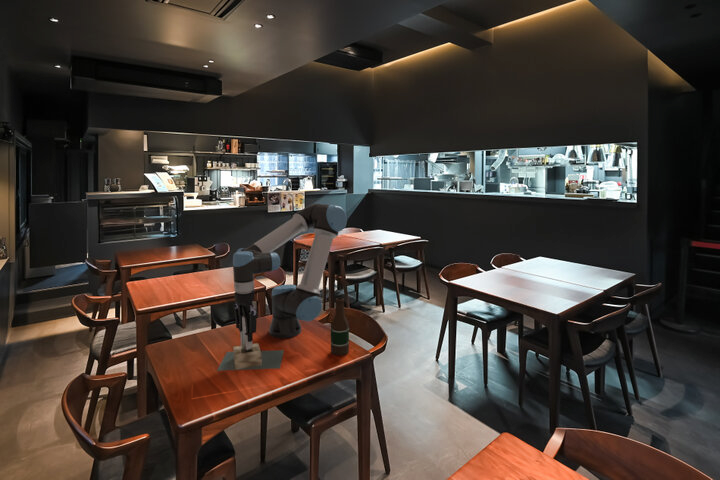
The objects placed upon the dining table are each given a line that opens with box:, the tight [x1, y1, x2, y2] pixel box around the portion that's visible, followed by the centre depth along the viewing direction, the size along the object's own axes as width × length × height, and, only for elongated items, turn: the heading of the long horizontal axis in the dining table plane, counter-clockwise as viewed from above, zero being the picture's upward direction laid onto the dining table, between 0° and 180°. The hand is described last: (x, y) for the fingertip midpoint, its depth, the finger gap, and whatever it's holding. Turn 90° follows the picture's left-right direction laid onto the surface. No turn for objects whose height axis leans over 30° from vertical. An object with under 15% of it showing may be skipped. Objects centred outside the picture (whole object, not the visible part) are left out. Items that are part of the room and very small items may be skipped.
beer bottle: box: [330, 297, 350, 357], centre depth 167 cm, size 8×8×24 cm
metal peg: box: [242, 315, 250, 353], centre depth 157 cm, size 3×3×18 cm
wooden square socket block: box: [232, 343, 262, 371], centre depth 159 cm, size 10×10×5 cm
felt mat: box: [216, 349, 285, 372], centre depth 161 cm, size 24×16×1 cm, turn 95°
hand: (246, 347), depth 158 cm, fingers closed on metal peg, 2 cm apart
